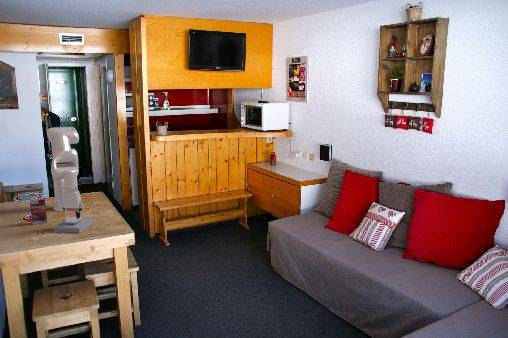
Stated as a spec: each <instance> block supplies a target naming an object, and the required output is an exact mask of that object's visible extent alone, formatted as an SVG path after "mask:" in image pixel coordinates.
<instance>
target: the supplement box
mask: <svg viewBox="0 0 508 338" xmlns="http://www.w3.org/2000/svg"><path fill="white" fill-rule="evenodd" d="M29 203H30V205H29V206H30V215H31V225H32V226H33V225H39V224H40V225H42V224H47V223H48V219H47V208H46V207H47V206H46V205H47V204H46V197H34V198H30V199H29Z"/></svg>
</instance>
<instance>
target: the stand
mask: <svg viewBox="0 0 508 338" xmlns="http://www.w3.org/2000/svg"><path fill="white" fill-rule="evenodd" d="M81 218H82V219H81V220H80V221H78V222H77V223H66V220H65V219H64V220H63V221H61V222H59V223H58V224H56V225H54V227H53V232H54V233H73V234H75V233H76V234H81V233H82V232H83V231H85V230H87V228H89V227H90V226H91V225H93V224H94V218H86V217H81Z"/></svg>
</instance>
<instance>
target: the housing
mask: <svg viewBox="0 0 508 338" xmlns="http://www.w3.org/2000/svg"><path fill="white" fill-rule="evenodd" d="M80 208H81V206H80ZM80 213H81V214H82V210H81V211H80ZM64 218H65V219H64V221H65V220H66V223H77V222H78V221H80V220H81V219H82V218H83V217H82V216H81V217H80V218H79V219H77V210H76V209H72V208H68V209H66V210H65V211H64Z"/></svg>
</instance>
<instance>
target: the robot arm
mask: <svg viewBox="0 0 508 338" xmlns="http://www.w3.org/2000/svg"><path fill="white" fill-rule="evenodd" d="M46 135H47V138H48V140H49V142H50V143H51V144H50V145H51V155H52V160H51V163H50V165H51V166H50V168H51V169H50V172H51V175H52V180H53V190H54V201H55V206H54V207H53V211H55V212H65V210H66V209H68V208H72V209H76V210H77V219H79V218H80V217H81V218H82V211H83V209H85V207H86V206H85V204H84V203H83V202H82V199H81V198H82V197H81V194H80V193H81V192H80V190H79V188H78V175H79V171H80V170H79V157H78V151H77V150H76V148H72V147H71V145H72V144H78V143H79V142H80V141H79V140H80V136H79V133H78V131H77V130H76V128H75V127H73V126H60V127H59V126H57V127H50V128H47V130H46ZM80 207H81V208H80ZM80 211H81V213H80Z"/></svg>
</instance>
